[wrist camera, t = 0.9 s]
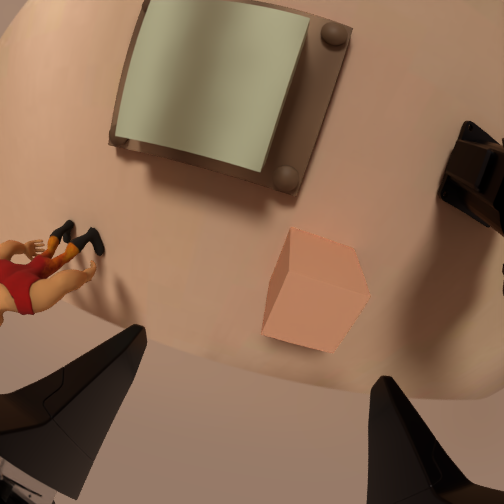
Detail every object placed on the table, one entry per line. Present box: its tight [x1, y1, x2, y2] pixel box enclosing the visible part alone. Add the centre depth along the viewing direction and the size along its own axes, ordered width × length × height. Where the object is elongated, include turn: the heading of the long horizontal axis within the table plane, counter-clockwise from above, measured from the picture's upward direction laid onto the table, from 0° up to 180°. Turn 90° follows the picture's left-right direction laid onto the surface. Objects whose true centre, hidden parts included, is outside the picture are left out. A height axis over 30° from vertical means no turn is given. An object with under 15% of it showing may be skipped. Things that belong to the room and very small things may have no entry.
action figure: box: [0, 220, 104, 326], centre depth 16 cm, size 9×4×15 cm, turn 76°
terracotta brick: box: [261, 227, 371, 353], centre depth 19 cm, size 5×5×6 cm
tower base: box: [108, 0, 353, 197], centre depth 14 cm, size 14×12×4 cm
